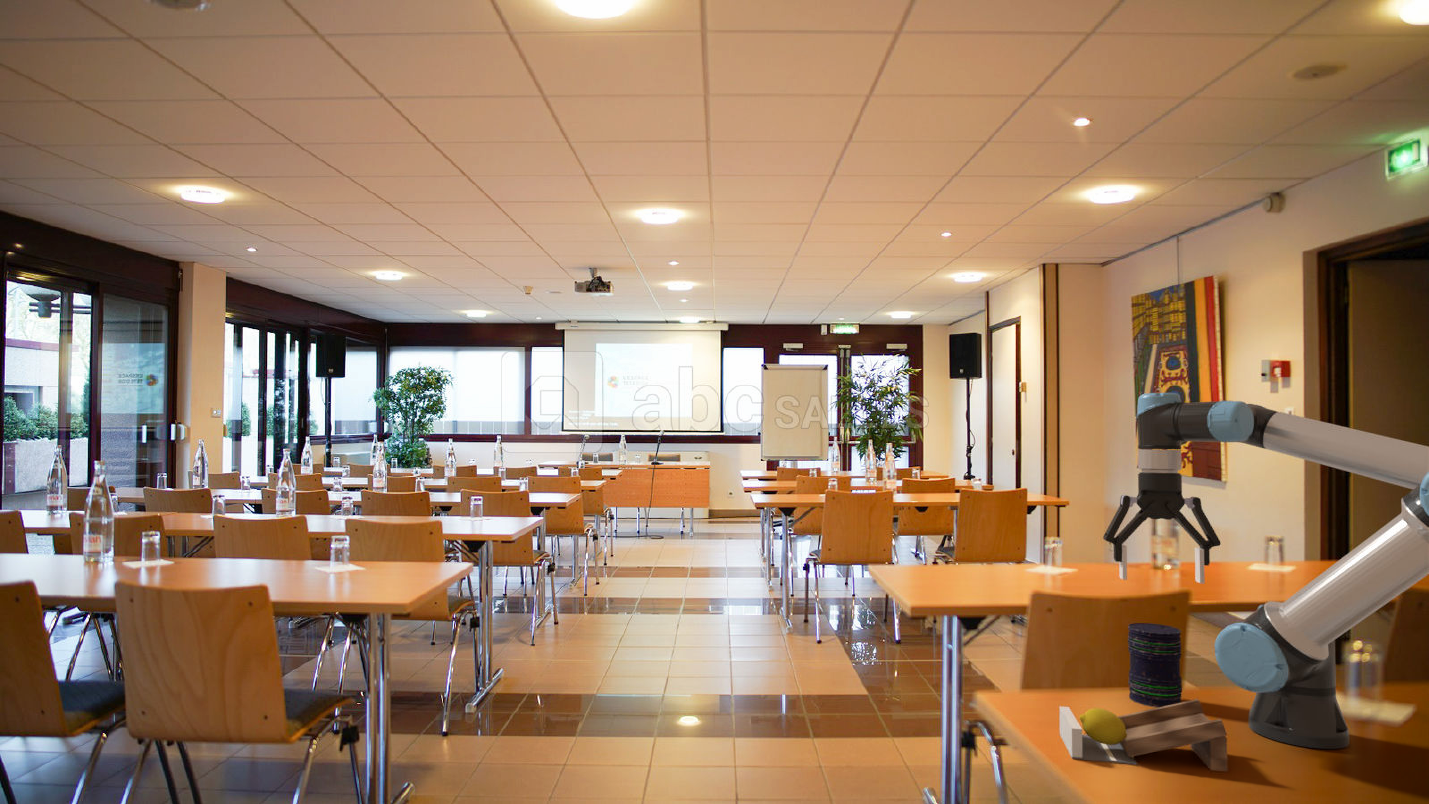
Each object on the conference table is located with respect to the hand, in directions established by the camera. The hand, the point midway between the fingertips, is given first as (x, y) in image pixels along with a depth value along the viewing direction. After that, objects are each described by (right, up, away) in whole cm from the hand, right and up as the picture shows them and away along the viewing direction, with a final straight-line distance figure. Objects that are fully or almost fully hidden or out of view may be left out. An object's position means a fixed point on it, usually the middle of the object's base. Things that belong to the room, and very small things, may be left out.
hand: (1161, 580), depth 159 cm
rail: (-25, -26, -16) cm, 39 cm away
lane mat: (-21, -26, -17) cm, 37 cm away
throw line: (-19, -26, -17) cm, 36 cm away
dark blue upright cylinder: (+5, -28, +11) cm, 30 cm away
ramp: (-10, -26, -20) cm, 34 cm away
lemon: (-24, -20, -17) cm, 35 cm away
